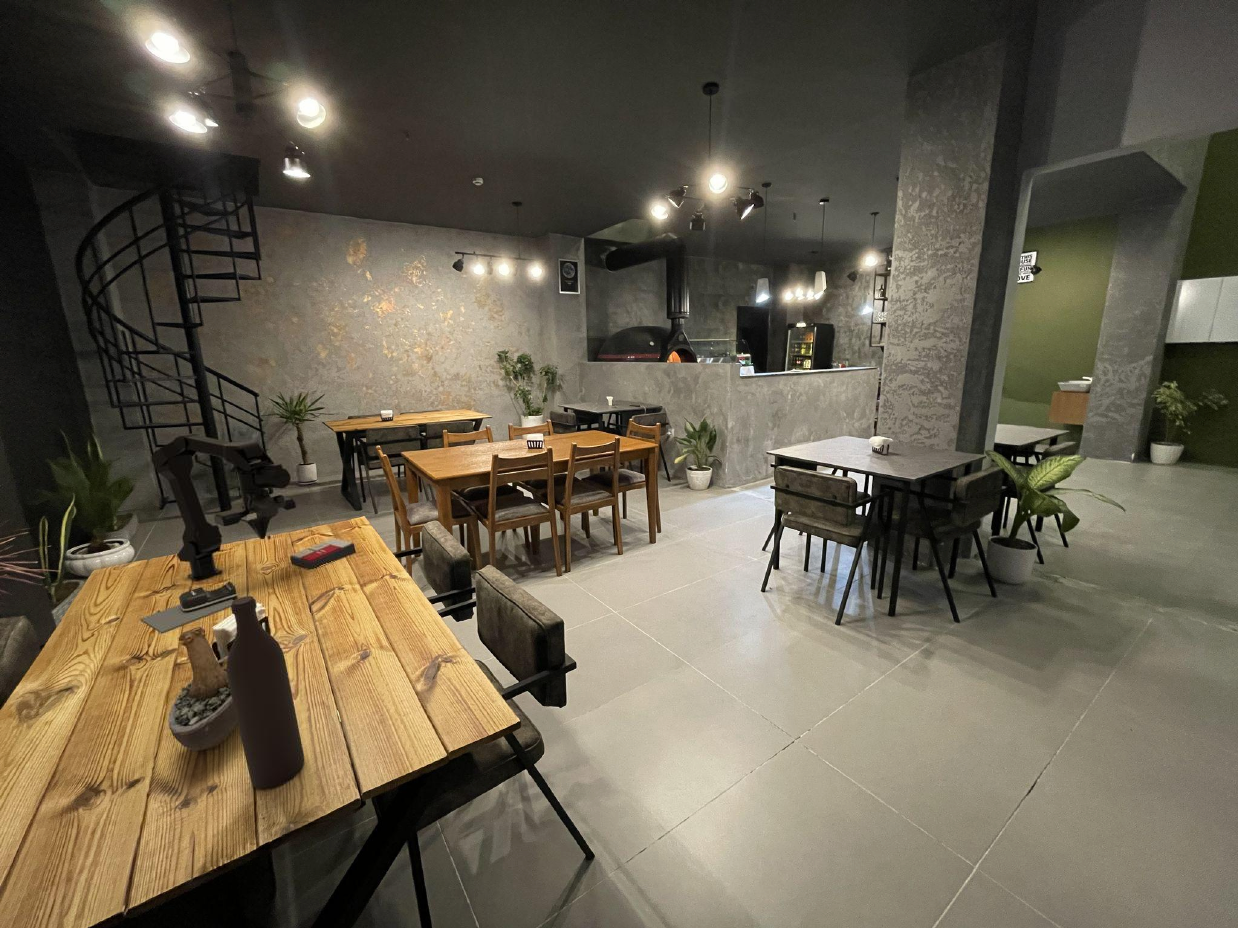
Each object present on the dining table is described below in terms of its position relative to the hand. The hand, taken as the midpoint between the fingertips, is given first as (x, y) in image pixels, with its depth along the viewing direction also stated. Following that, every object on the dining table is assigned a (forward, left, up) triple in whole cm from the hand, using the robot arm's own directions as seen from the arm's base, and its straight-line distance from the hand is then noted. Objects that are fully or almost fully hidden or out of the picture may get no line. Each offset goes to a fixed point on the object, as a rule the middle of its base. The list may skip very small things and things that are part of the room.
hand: (262, 538), depth 143 cm
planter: (+58, -36, -13) cm, 70 cm away
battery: (+2, -10, -11) cm, 14 cm away
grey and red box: (-1, +17, -14) cm, 21 cm away
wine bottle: (+78, -36, -13) cm, 86 cm away
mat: (+2, -20, -13) cm, 24 cm away
